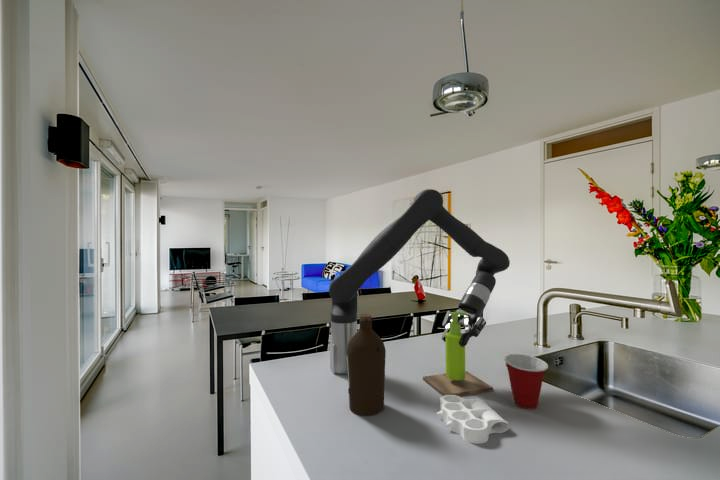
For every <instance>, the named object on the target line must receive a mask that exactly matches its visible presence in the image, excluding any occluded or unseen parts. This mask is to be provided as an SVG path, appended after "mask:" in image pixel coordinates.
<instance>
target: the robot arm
mask: <svg viewBox="0 0 720 480" xmlns="http://www.w3.org/2000/svg"><path fill="white" fill-rule="evenodd" d="M443 205H444V199H443V196H442V194H441V193H440V192H439V191H438V190H437V189H432V188H427V189H424V190H422V191H420V192H418V194H416V196H414V199H413V202H412V203H411V205H409V207H408V208H407V209H406V210H405V211H404V212H403V214H402V215H400V216H399V217H397V219H395V220H394V221H393V222H391V223H390V224H389V225H387V226H386V227H385V228H384V229H383V230H381V231H380V232H379V233H378V234H377V235H376V236H375V237H374V238H373V239H372V240H371V241H370V243H369V244H368V245H367V246H366V247H365V248H364V250H362V252H361V253H360V255H359V256H357V258H356V260H355V261H354V262H353V263H352V264H351V265H350V266H349V267H347V268H346V269H345V270H343V272H342V273H341V274H340V275H337V277H335V278H334V279H332V280H331V282H330V284H329V287H328V288H329V289H328V292H329V293H328V294H329V297H330V298H331V312H330V341H329V369H330V371H331V372H332V374H339V375H341V374H342V375H348V368H347V354H346V352H347V346H348V343H349V341H350V339H351V338H352V337H353V336H354V335H355V334H356V333H357V331H358V318H357V317H358V291H359V290H360V289H361V287H362V286H363V285H364V283H366V281H367V280H368V279H370V277H371V276H373V275H374V274H376V273H377V272H378V271H379V270H380V269H382V268H383V267H384V266H385V265H386V264H388V262H390V261H391V260H392V259H393V258H394V257H395V256H396V255H397V254H398V253H399V252H400V251H401V250H402V248H404V246H405V245H406V244H407V243H408V242H409V241H410V239H411V238H412V237H413V236H414V234H416V232H417V231H418V230H419V229H420V228H421V227H422V226H424V225H425V224H426V223H427V222H428V221H430V222H432V224H434V225H435V226H437V227H438V228H439V229H441V230H442V231H443V232H444V233H445V234H447V236H449V238H451V239H452V240H453V241H454V242H455V243H456V244H457V245H459V247H461V248H462V249H463V250H464V251H465V252H466V253H467V254H468V255H469V256H471V257H472V258H481V259H480V260H479V261H478V264H477V268H476V271H475V276H474V277H473V279H472V281H471V283H470V285H469V286H468V287H467V289H466V291H465V293H464V295H463V296H462V298H461V300H460V302H459V303H458V308H457V309H456V310H455V312H464V313H467V314H468V316H464V315H458V322H459V323H460V324H461V328H462V327H464V332H463V335H462V337H461V339H460V341H459V344H460V346H461V347H464V346H465V347H466V346H467V344H468V343H469V341H470V338H473V337H475V338H477V337H479V335H480V334H481V332H482V330H483V329H484V328H485V326H486V325H487V321H486V319H485V318H484V317H483V316H482V315H483V312H484V311H485V308H486V307H487V304H488V302H489V300H490V297H491V295H492V293H493V290H494V289H495V286H496V283H497V280H496V277H495V275H496V274H498V273H501V272H504V271H506V270H508V268H509V267H510V264H511V262H510V258H509V256H508V255H507V253H506V252H505V251H503V250H502V249H500V248H499V247H497V246H496V245H494V244H492V243H489V242H487V241H486V240H484V239H483V238H482V236H480V235H479V234H478V233H476V232H475V230H473V229H472V228H471V227H470V226H468V225H466V223H463V222H462V221H461V220H459V219H458V218H456V217H455V216H454V215H453V214H451V213H450V211H448V210H447V209H446V208H445V206H443ZM450 312H451V311H450V310H447V311H446V314H445V316H444V317H443V318H444V319H443V321H442V327H444V331H443V333H442V335H441V340H442V341H443V342H444V343H445V334H446V333H448V332H449V323H450V322H452V315H450Z"/></svg>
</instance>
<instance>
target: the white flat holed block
mask: <svg viewBox="0 0 720 480" xmlns="http://www.w3.org/2000/svg"><path fill="white" fill-rule="evenodd" d="M439 408H440V410H439V411H438V412H436V415H438V416H440V417H441V418H442V422H444V423H446V424H445V425H444V426H445V427H447V428H448V429H449V430H450V431H452V432H454V433H455V434H458V435H460V436H461V438H462V439H463V441H465V442H467V443H470V444H477V445H478V444H485V443H486V442H488V440H489V435H490V434H502V433H505V432H507V431H508V430H509V429H510V424H509V421H507V420H505V419H503V417H502V416H500V415H499V413H497V411H496V410H494V409H492V407H490V406H489V405H488V404H487V402H486V401H484V400H483V399H480V398H464V397H463V396H456V395H444V396H442V395H441V396H440V398H439Z"/></svg>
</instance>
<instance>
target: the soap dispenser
mask: <svg viewBox="0 0 720 480" xmlns="http://www.w3.org/2000/svg"><path fill="white" fill-rule="evenodd" d="M450 315H452V322H450V323H449V332H448V333H446V334H445V342H444V343H445V374H446V377H447V378H449V379H452V380H463V379H465V371H466V346H464V347H461V346H460V344H459V341H460V339H461V337H462V335H463V333H464V332H463V333H462V332H461V331H462V327H461V324H460V323H459V322H458V315H464V316H468V314H467V313H464V312H456V311H450Z"/></svg>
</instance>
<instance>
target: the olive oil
mask: <svg viewBox="0 0 720 480" xmlns="http://www.w3.org/2000/svg"><path fill="white" fill-rule="evenodd" d="M358 321H359V324H358V325H359V328H358V329H357V333H356V334H355V335H354V336H353V337H352V338H351V339H350V341H349V343H348V346H347V352H346V354H347V368H348V374H347V383H348V389H347V390H348V391H347V392H348V402H349V409H350V411H351V412H352V413H354V414H356V415H359V416H374V415H377V414H380V413H381V412H383V410H384V409H385V383H386V382H385V381H386V379H385V377H386V375H385V373H386V357H387V356H386V353H387V352H386V347H385V343H384V341H383V339H382V338H381V337H380V336H379V335H378V334H377V333H376V332H375V331H374V329H373V327H372V326H373V320H372V314H369V313H362V314H360V315H359V320H358Z"/></svg>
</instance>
